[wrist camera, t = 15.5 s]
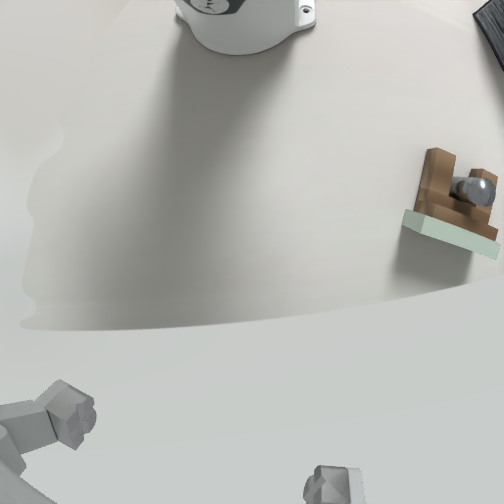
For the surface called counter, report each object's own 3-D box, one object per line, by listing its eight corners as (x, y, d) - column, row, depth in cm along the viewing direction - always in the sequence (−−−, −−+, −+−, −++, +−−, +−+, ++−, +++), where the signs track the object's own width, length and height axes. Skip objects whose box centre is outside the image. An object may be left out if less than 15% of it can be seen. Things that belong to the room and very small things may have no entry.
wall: (406, 208, 33) (425, 215, 27) (476, 234, 32) (501, 244, 26) (401, 224, 33) (420, 233, 27) (472, 248, 32) (496, 260, 26)
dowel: (445, 173, 31) (478, 174, 23) (463, 180, 31) (497, 183, 23) (441, 196, 32) (473, 201, 24) (458, 202, 31) (492, 210, 24)
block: (427, 149, 30) (447, 145, 25) (485, 176, 29) (509, 177, 24) (413, 211, 32) (432, 217, 27) (472, 232, 32) (495, 241, 26)
